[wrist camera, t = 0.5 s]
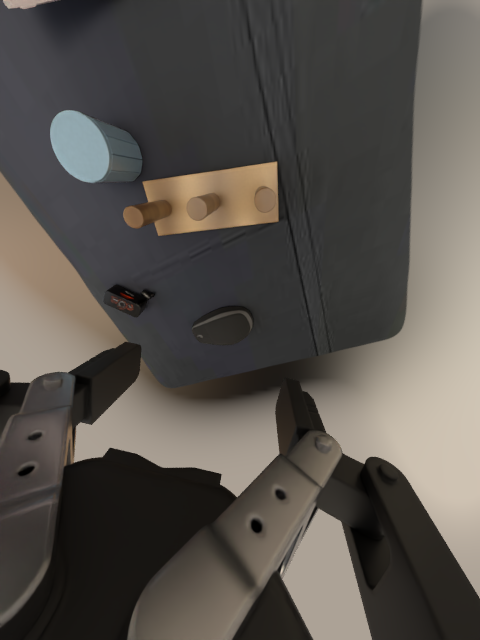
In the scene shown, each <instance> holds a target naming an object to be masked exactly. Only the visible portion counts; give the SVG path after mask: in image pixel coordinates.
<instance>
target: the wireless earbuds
mask: <svg viewBox="0 0 480 640" xmlns="http://www.w3.org/2000/svg"><path fill="white" fill-rule="evenodd" d="M141 294H142V296H144V297H145V298H144V297H142V296H140V295H138V294H136V293H133V292H131V291H129V290H127V289H125V288H123V287H121V286H119V285H114V286H113V287H111V288H110V289H109V290H107V291H106V292H105V294H104V298H103V302H104V303H105V304H107V305H109V306H111V307H113V308H116V309H118V310H120V311H122V312H125V313H127V314H129V315H131V316H134V317H138V316H139V315H140V314H141V313H142V312H143V310H144V309H145V307H146V304H147V300H149V299H151V298H152V297H154V295H155V294H154V293H151V294H150V293H149V292H147V291H146V290H143V291H142V292H141Z"/></svg>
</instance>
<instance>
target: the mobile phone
mask: <svg viewBox="0 0 480 640" xmlns="http://www.w3.org/2000/svg"><path fill="white" fill-rule="evenodd" d="M55 1H59V0H3V2H4V4H5V5H6V6H7V7H8V8H9V9H13V8H22V9H28V8H33V7H36V5H40V4H46V3H51V2H55Z"/></svg>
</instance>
